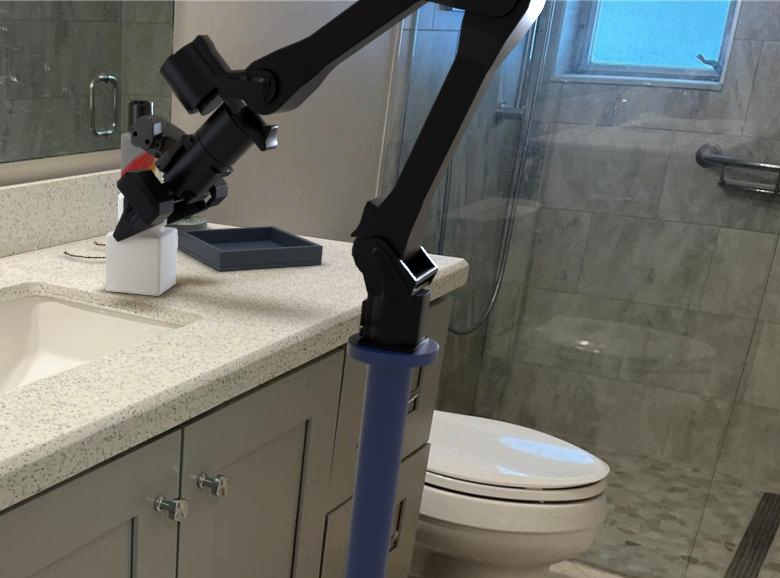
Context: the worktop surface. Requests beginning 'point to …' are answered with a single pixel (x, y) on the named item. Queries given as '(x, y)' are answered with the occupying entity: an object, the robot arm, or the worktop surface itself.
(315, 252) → the vanity tray
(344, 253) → the worktop surface
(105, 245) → the accessory
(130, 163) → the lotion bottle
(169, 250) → the medicine bottle
